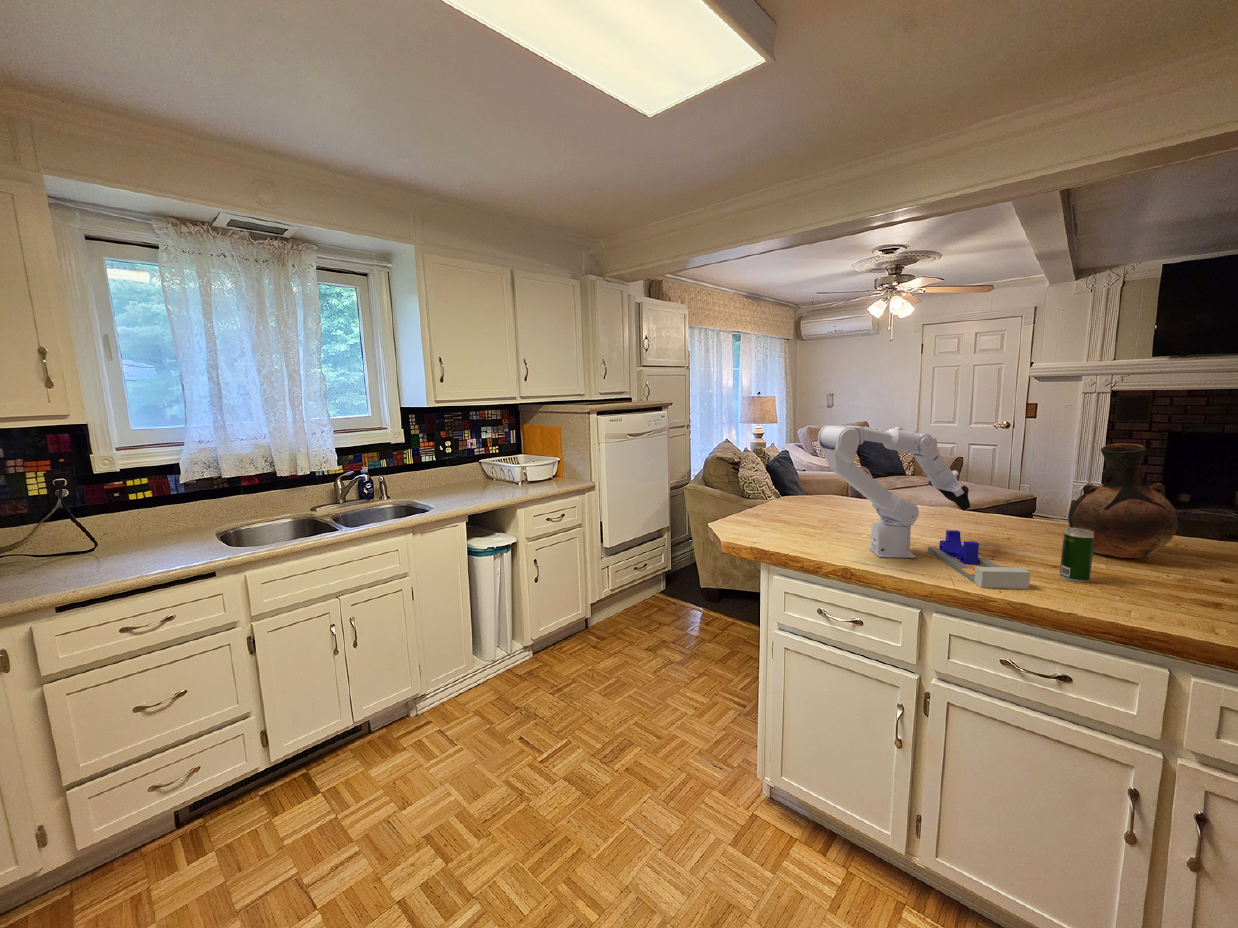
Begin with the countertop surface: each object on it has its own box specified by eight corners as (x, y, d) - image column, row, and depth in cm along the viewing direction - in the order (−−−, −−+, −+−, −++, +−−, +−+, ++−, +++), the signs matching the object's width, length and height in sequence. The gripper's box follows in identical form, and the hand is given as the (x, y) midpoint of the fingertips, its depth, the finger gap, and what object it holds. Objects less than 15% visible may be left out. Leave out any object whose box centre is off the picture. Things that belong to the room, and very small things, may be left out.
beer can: (1078, 584, 117) (1083, 534, 115) (1053, 576, 122) (1058, 528, 121) (1095, 581, 118) (1101, 532, 117) (1070, 573, 124) (1075, 526, 122)
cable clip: (939, 550, 144) (940, 530, 143) (956, 550, 143) (958, 530, 142) (958, 564, 132) (959, 542, 132) (977, 565, 132) (979, 543, 131)
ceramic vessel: (1156, 551, 137) (1171, 442, 133) (1187, 572, 122) (1205, 450, 118) (1056, 541, 148) (1067, 440, 143) (1073, 560, 132) (1086, 447, 128)
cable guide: (981, 587, 117) (982, 571, 116) (927, 550, 143) (928, 537, 143) (1028, 588, 116) (1030, 572, 115) (966, 551, 142) (967, 537, 141)
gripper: (963, 469, 133) (987, 505, 136) (935, 450, 146) (957, 484, 150) (938, 484, 135) (963, 520, 138) (912, 464, 148) (935, 497, 151)
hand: (958, 502), depth 144 cm, fingers open, 7 cm apart
